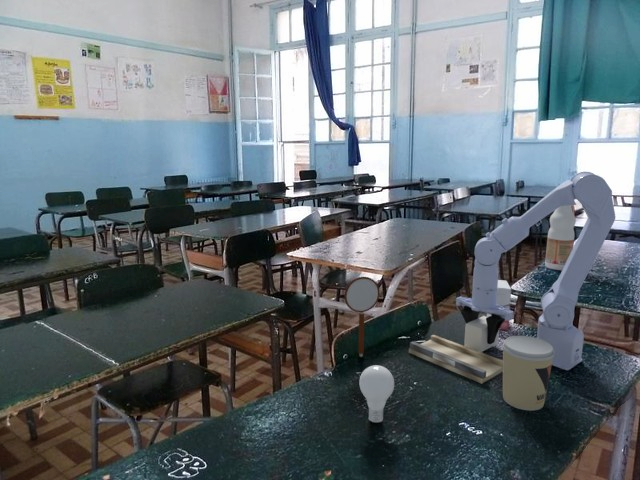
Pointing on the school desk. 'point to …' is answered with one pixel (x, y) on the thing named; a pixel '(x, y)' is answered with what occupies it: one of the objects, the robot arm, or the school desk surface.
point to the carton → (478, 335)
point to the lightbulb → (376, 390)
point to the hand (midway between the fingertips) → (481, 339)
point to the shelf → (458, 358)
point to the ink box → (503, 299)
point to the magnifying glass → (361, 301)
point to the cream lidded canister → (526, 371)
